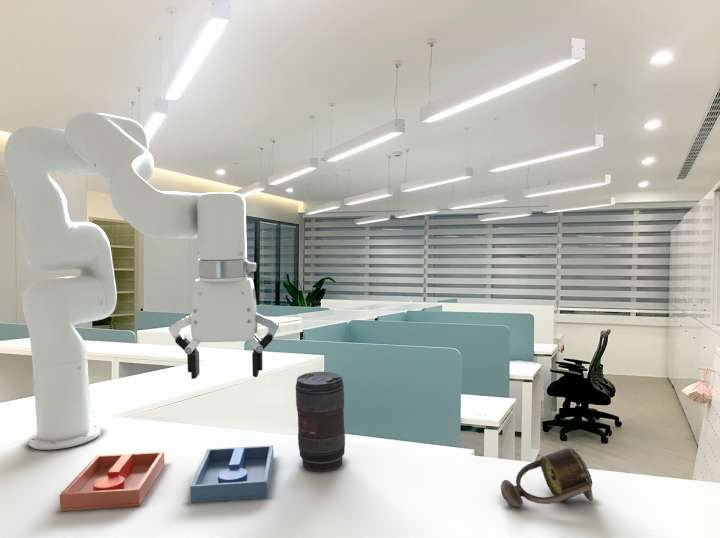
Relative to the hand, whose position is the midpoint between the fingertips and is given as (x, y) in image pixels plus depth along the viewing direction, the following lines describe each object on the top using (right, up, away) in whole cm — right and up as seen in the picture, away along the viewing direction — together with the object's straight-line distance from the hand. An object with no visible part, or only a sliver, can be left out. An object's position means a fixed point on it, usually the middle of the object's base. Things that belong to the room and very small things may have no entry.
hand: (225, 375), depth 94 cm
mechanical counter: (+49, -16, -10) cm, 52 cm away
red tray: (-17, -17, -2) cm, 24 cm away
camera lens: (+15, -16, +4) cm, 23 cm away
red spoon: (-17, -17, -2) cm, 24 cm away
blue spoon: (+2, -16, 0) cm, 16 cm away
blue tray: (+2, -17, -1) cm, 17 cm away
